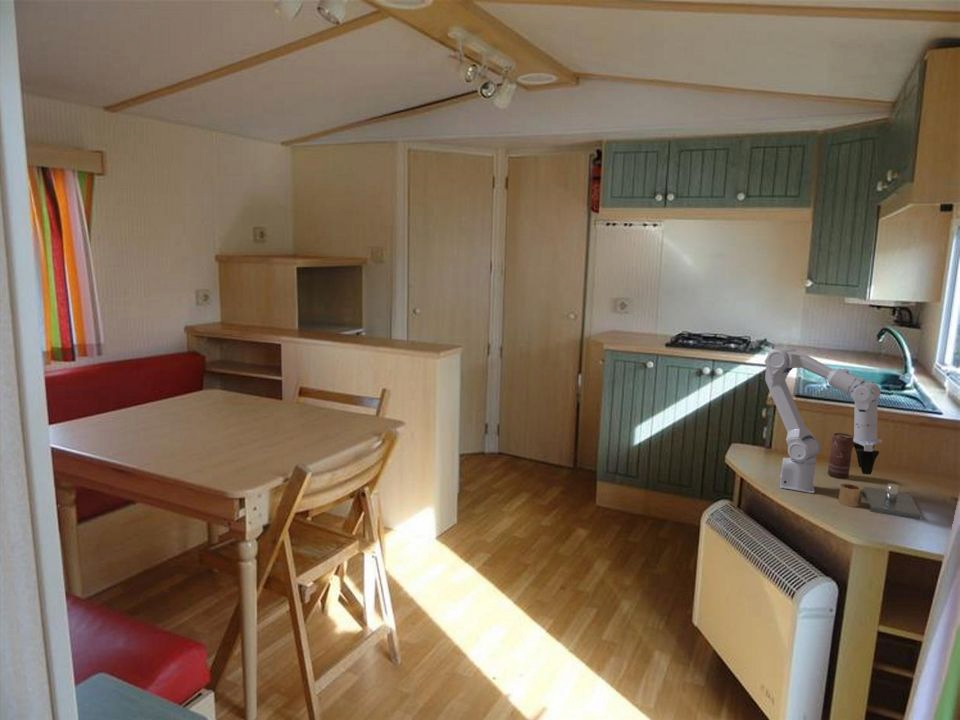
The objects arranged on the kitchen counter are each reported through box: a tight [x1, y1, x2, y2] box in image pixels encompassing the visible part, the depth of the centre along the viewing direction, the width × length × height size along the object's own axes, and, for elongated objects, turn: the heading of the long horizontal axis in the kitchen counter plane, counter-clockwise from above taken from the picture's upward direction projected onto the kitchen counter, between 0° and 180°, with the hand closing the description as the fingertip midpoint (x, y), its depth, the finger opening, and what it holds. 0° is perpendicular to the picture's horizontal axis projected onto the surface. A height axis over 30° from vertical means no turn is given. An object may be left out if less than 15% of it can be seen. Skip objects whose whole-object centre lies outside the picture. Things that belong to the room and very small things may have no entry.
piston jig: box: [862, 482, 922, 521], centre depth 190 cm, size 12×18×6 cm, turn 155°
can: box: [827, 432, 854, 480], centre depth 213 cm, size 6×6×14 cm
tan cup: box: [837, 483, 863, 508], centre depth 190 cm, size 6×6×5 cm
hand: (864, 470), depth 187 cm, fingers open, 7 cm apart
